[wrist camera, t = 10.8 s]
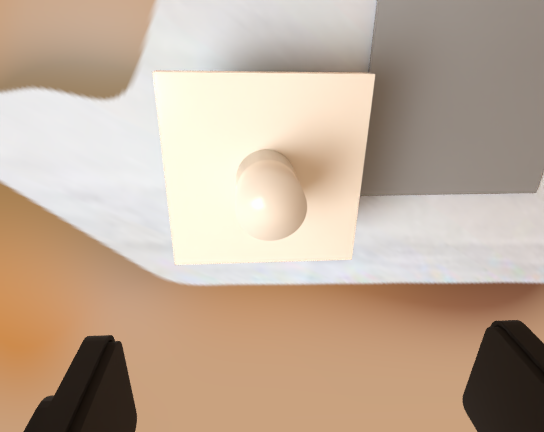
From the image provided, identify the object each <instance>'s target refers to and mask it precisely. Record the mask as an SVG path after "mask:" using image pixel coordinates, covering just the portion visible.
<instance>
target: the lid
mask: <svg viewBox="0 0 544 432" xmlns="http://www.w3.org/2000/svg"><path fill="white" fill-rule="evenodd" d="M153 80H154V89H155V97H156V106H157V115H158V123H159V132H160V141H161V149H162V158H163V166H164V175H165V184H166V192H167V201H168V210H169V218H170V227H171V236H172V244H173V253H174V261H175V265H188V264H221V263H254V262H287V261H320V260H352V253H353V245H354V237H355V229H356V221H357V214H358V206H359V198H360V190H361V182H362V175H363V167H364V159H365V151H366V143H367V136H368V128H369V120H370V112H371V104H372V96H373V89H374V81H375V74H373V73H358V72H261V71H164V70H156V71H154V72H153Z"/></svg>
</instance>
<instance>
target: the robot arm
mask: <svg viewBox="0 0 544 432" xmlns="http://www.w3.org/2000/svg"><path fill="white" fill-rule="evenodd" d="M463 406H464V409H465V411H466V413H467V415H468V416H469V418H470V420H471V421H472V423H473V425H474V426H475V428H476V430H477V431H478V432H544V344H543V343H542V341H540V339H539V338H538V337H537V336H536V335H535V334H533V332H532V331H531V330H530V329H529V328H528V327H527V326H526V325H525V324H524V323H522V322H521V321H518V320H508V321H494V322H493V323H492V325H491V326H490V327H489V328H487V329H486V331H485V334H484V337H483V340H482V342H481V345H480V348H479V351H478V354H477V357H476V360H475V363H474V366H473V368H472V371H471V374H470V377H469V380H468V383H467V386H466V389H465V392H464V394H463ZM136 423H137V413H136V409H135V404H134V399H133V394H132V390H131V385H130V380H129V375H128V371H127V366H126V361H125V357H124V352H123V347H122V344H121V342H120V341H115V340H114V337H113V336H112V335H108V336H87V337H86V338H85V339H84V340H83V342H82V344H81V346H80V348H79V350H78V352H77V354H76V355H75V357H74V359H73V361H72V363H71V365H70V367H69V369H68V371H67V373H66V374H65V377H64V378H63V380H62V382H61V384H60V386H59V388H58V390H57V392H56V393H55V395H54V396H48V397H46V398H44V399H43V400H42V401H41V403H40V404H39V405H38V407H37V409H36V410H35V412H34V414H33V416H32V418H31V419H30V421H29V423H28V425H27V426H26V428H25V430H24V432H135V429H136Z"/></svg>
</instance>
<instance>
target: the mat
mask: <svg viewBox="0 0 544 432" xmlns="http://www.w3.org/2000/svg"><path fill="white" fill-rule="evenodd" d="M368 73H373V74H375V81H374V89H373V96H372V104H371V112H370V120H369V128H368V136H367V143H366V151H365V159H364V167H363V175H362V182H361V190H360V196H379V195H440V194H501V193H536V192H537V189H538V186H539V183H540V180H541V177H542V175H543V172H544V0H377V5H376V14H375V22H374V30H373V39H372V47H371V55H370V63H369V72H368Z"/></svg>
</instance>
